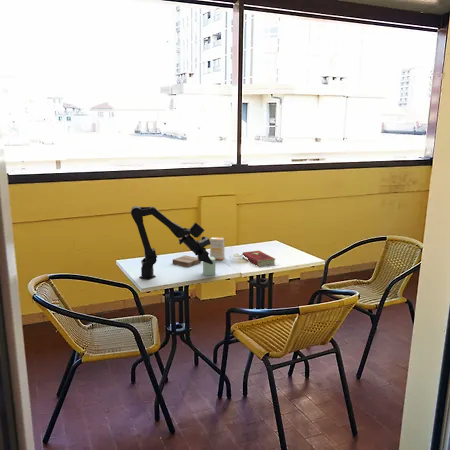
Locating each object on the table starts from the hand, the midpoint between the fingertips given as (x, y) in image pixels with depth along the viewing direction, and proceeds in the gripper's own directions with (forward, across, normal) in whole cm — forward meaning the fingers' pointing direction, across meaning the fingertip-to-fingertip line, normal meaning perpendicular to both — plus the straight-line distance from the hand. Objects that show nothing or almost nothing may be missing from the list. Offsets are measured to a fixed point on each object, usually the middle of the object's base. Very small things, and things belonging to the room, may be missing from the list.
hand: (211, 262), depth 255 cm
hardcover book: (+28, +21, -18) cm, 39 cm away
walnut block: (-3, +23, +13) cm, 27 cm away
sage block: (+4, 0, +6) cm, 7 cm away
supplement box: (+11, +30, -1) cm, 32 cm away
